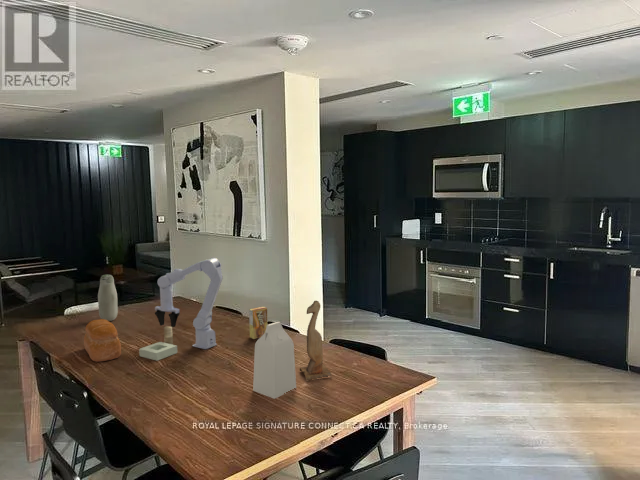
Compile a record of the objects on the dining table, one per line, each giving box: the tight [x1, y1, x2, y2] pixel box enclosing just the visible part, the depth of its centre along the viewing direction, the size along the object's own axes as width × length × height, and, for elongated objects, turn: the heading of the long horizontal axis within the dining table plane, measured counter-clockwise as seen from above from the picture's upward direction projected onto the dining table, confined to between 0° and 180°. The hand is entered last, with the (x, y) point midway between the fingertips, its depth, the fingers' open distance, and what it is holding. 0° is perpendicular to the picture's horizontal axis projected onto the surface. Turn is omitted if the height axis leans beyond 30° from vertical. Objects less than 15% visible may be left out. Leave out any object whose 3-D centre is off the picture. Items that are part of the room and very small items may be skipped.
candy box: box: [248, 306, 268, 340], centre depth 245 cm, size 9×4×15 cm, turn 129°
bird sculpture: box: [299, 300, 332, 381], centre depth 191 cm, size 11×12×32 cm
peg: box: [163, 325, 174, 345], centre depth 233 cm, size 4×4×9 cm
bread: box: [83, 318, 122, 363], centre depth 221 cm, size 14×26×15 cm, turn 35°
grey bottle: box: [97, 274, 119, 322], centre depth 277 cm, size 10×10×28 cm
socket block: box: [138, 341, 178, 362], centre depth 219 cm, size 12×12×4 cm
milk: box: [252, 321, 297, 400], centre depth 178 cm, size 12×12×26 cm
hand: (167, 325), depth 234 cm, fingers open, 7 cm apart
